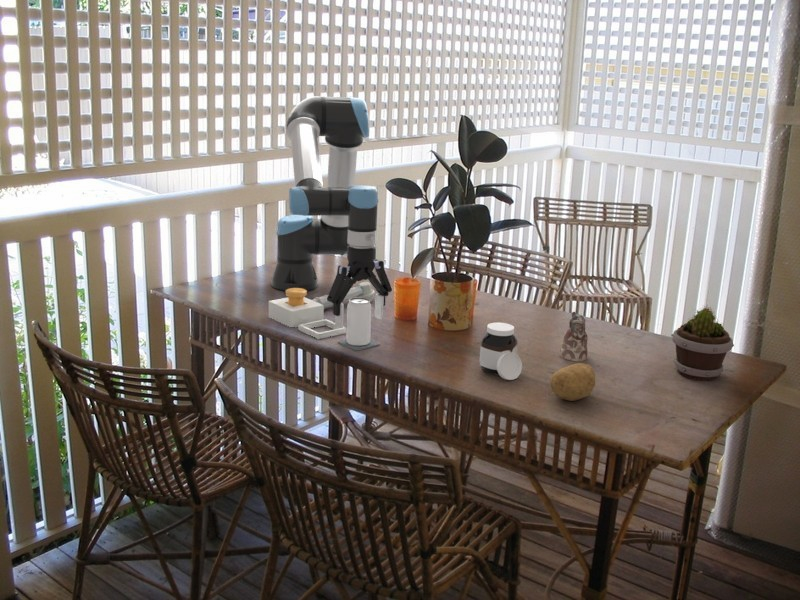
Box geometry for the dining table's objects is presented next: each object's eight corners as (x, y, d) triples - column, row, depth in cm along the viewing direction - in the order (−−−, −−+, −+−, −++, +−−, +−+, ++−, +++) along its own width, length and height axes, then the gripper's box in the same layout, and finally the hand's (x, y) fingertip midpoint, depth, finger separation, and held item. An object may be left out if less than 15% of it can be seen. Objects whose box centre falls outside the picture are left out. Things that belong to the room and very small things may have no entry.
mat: (361, 337, 244) (361, 335, 244) (379, 345, 238) (379, 344, 238) (337, 342, 239) (337, 341, 239) (356, 351, 233) (356, 349, 233)
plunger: (298, 311, 260) (298, 286, 258) (310, 317, 256) (310, 291, 254) (281, 315, 257) (281, 289, 254) (293, 320, 252) (293, 294, 250)
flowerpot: (674, 359, 238) (684, 288, 232) (733, 372, 230) (745, 299, 225) (660, 375, 226) (670, 301, 220) (721, 389, 218) (734, 312, 213)
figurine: (564, 361, 233) (569, 318, 229) (556, 352, 239) (560, 310, 236) (590, 361, 234) (595, 318, 230) (581, 351, 241) (585, 309, 237)
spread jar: (493, 361, 231) (497, 318, 227) (532, 371, 225) (536, 328, 221) (470, 373, 221) (473, 329, 218) (510, 385, 215) (513, 340, 212)
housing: (299, 311, 264) (299, 295, 263) (348, 332, 247) (348, 315, 246) (268, 317, 257) (268, 300, 256) (316, 339, 240) (316, 322, 239)
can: (343, 344, 236) (344, 302, 233) (350, 337, 242) (351, 295, 239) (365, 347, 235) (367, 305, 231) (373, 340, 241) (374, 298, 237)
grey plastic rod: (303, 299, 264) (366, 276, 279) (305, 319, 266) (368, 295, 282) (313, 303, 260) (377, 279, 275) (315, 323, 263) (378, 299, 278)
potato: (603, 394, 212) (607, 363, 210) (578, 412, 201) (581, 379, 199) (566, 384, 217) (570, 353, 215) (540, 400, 206) (543, 369, 204)
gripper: (332, 254, 220) (330, 334, 226) (406, 242, 236) (403, 317, 242) (314, 248, 225) (313, 326, 232) (388, 237, 241) (385, 310, 247)
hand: (359, 322), depth 237 cm, fingers open, 13 cm apart
